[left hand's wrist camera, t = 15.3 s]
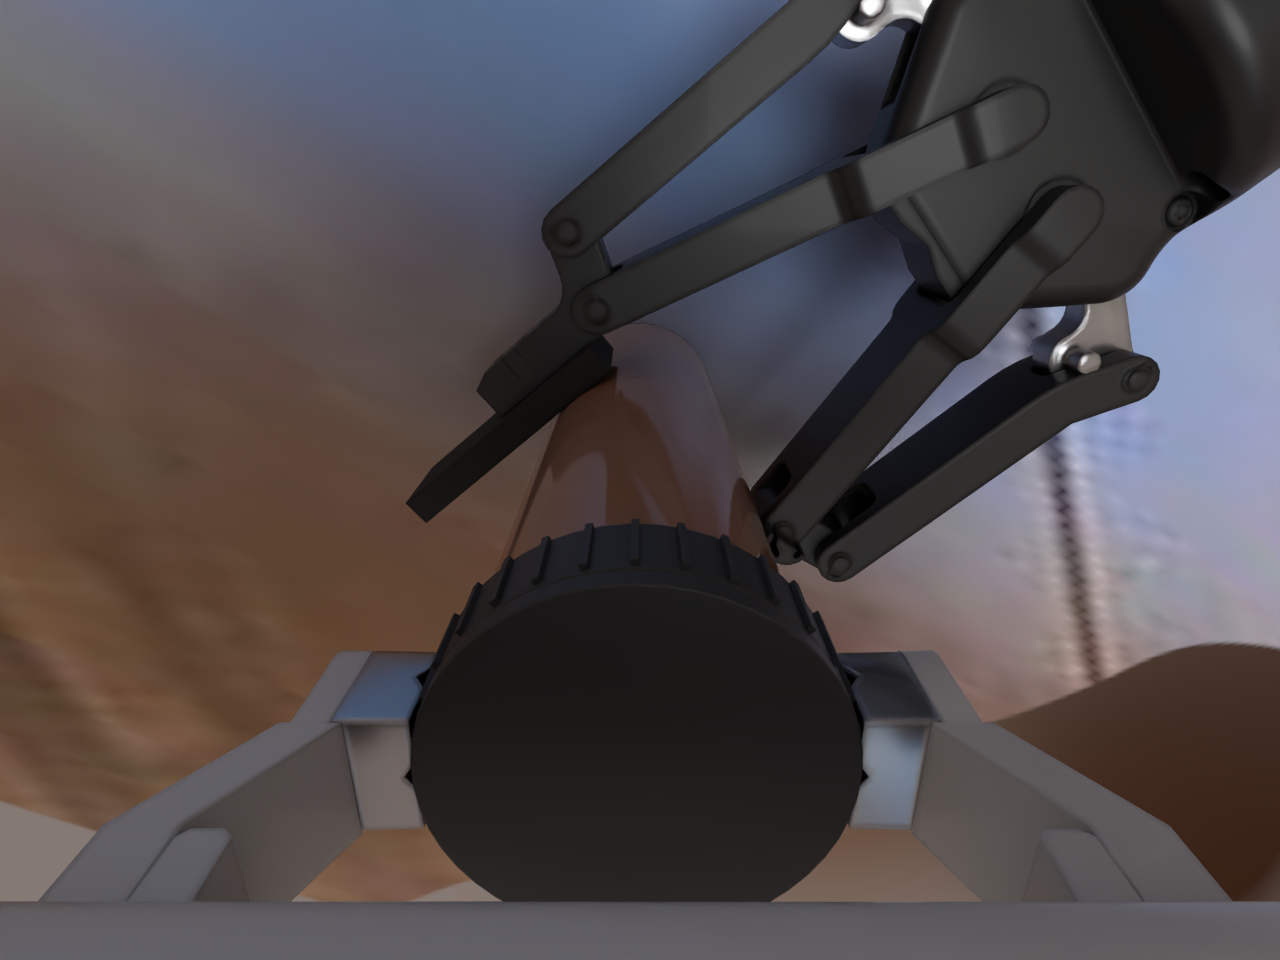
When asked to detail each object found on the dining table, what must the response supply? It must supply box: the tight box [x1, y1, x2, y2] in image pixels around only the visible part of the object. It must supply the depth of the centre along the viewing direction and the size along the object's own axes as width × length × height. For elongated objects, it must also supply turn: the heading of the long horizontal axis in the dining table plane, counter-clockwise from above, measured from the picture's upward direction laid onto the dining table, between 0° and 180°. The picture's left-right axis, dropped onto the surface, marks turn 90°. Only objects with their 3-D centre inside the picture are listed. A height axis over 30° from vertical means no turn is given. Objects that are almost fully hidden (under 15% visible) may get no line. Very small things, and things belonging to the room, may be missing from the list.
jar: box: [496, 323, 780, 574], centre depth 18 cm, size 5×5×18 cm
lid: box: [410, 519, 863, 902], centre depth 10 cm, size 6×6×2 cm
